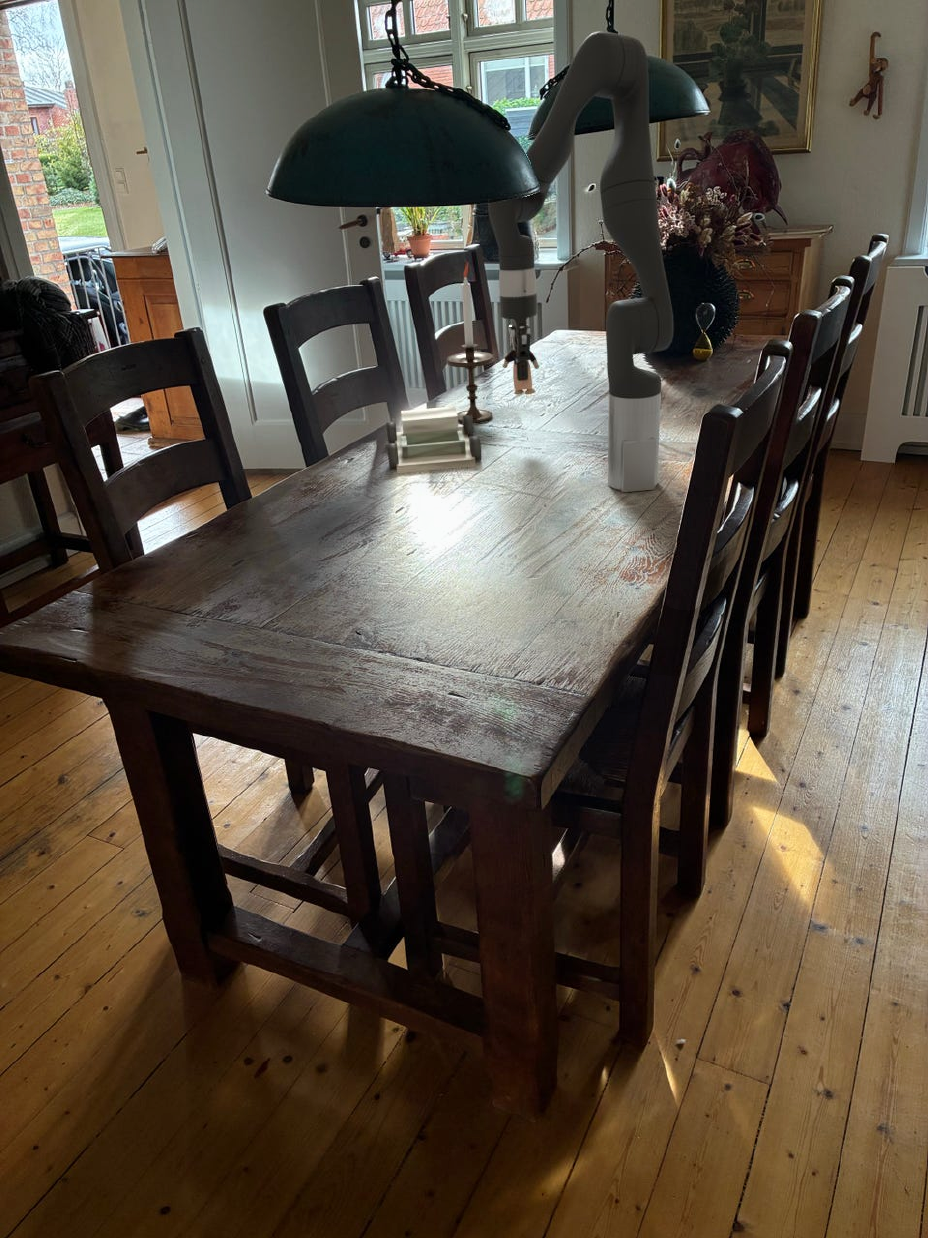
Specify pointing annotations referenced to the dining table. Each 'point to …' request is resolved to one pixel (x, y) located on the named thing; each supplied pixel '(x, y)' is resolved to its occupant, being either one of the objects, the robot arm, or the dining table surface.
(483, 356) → the candlestick
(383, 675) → the dining table surface
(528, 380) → the grandmother figurine
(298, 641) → the dining table surface
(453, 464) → the chassis
